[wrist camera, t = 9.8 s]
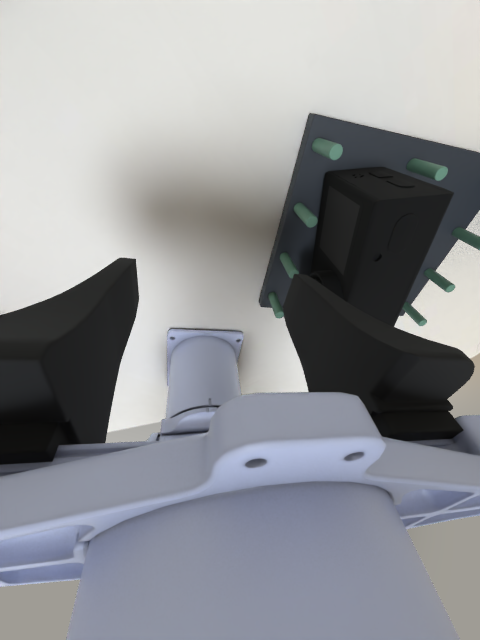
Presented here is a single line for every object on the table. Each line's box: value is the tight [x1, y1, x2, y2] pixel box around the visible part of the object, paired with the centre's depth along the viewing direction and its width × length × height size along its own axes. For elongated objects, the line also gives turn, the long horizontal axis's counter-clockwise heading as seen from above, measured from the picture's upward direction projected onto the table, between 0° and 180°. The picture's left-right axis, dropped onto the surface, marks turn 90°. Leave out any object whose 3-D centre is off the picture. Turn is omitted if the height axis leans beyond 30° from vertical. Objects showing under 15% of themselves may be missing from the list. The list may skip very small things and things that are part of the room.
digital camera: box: [309, 167, 454, 327], centre depth 19 cm, size 10×5×7 cm, turn 3°
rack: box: [259, 113, 480, 326], centre depth 22 cm, size 15×16×4 cm
